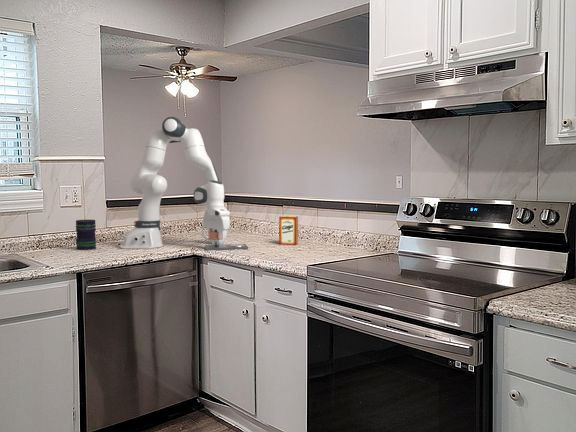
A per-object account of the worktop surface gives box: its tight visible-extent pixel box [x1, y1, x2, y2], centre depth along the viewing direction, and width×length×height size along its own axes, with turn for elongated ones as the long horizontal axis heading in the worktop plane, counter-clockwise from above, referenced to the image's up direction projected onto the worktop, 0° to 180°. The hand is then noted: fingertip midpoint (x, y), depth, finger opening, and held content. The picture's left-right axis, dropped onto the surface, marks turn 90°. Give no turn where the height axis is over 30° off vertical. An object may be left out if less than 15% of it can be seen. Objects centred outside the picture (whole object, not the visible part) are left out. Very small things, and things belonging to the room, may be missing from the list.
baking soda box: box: [278, 214, 299, 246], centre depth 315 cm, size 10×6×16 cm
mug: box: [200, 226, 228, 245], centre depth 316 cm, size 15×11×13 cm
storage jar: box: [75, 219, 97, 251], centre depth 295 cm, size 10×10×15 cm
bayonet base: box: [204, 240, 249, 251], centre depth 299 cm, size 22×12×7 cm, turn 102°
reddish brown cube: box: [208, 229, 223, 241], centre depth 297 cm, size 5×5×5 cm
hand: (215, 237), depth 297 cm, fingers closed on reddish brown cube, 5 cm apart
